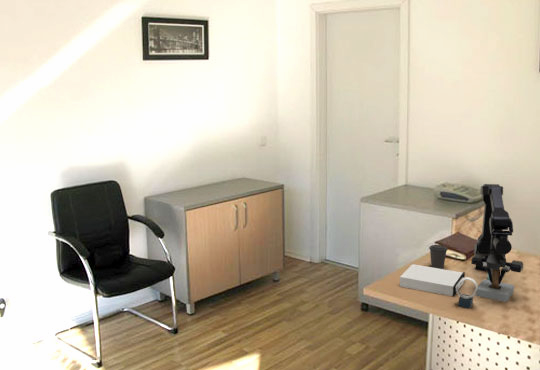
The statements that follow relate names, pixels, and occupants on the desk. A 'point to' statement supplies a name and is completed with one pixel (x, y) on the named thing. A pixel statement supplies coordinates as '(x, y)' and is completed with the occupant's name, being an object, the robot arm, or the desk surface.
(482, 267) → the robot arm
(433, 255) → the coffee cup
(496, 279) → the walnut pin
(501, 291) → the block
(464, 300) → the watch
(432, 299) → the desk surface
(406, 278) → the disc drive
